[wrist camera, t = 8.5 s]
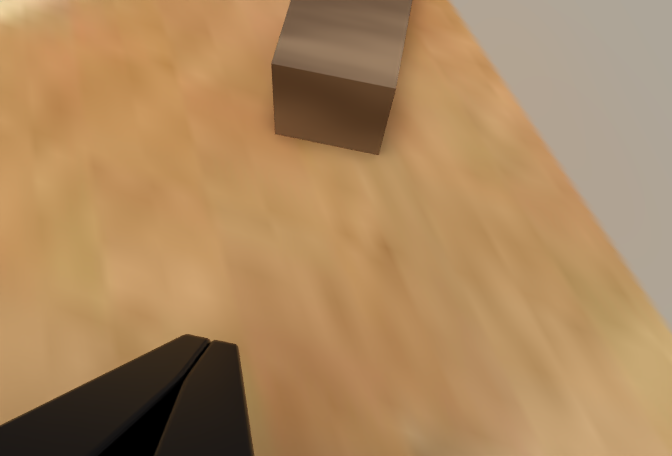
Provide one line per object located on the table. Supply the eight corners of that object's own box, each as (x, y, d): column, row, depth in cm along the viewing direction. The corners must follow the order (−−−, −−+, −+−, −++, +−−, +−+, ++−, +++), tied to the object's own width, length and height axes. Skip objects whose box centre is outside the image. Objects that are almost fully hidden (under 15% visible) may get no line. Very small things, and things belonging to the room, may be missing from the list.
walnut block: (395, 88, 22) (432, -109, 27) (271, 63, 22) (330, -129, 27) (378, 155, 27) (412, -24, 31) (275, 134, 27) (325, -41, 32)
